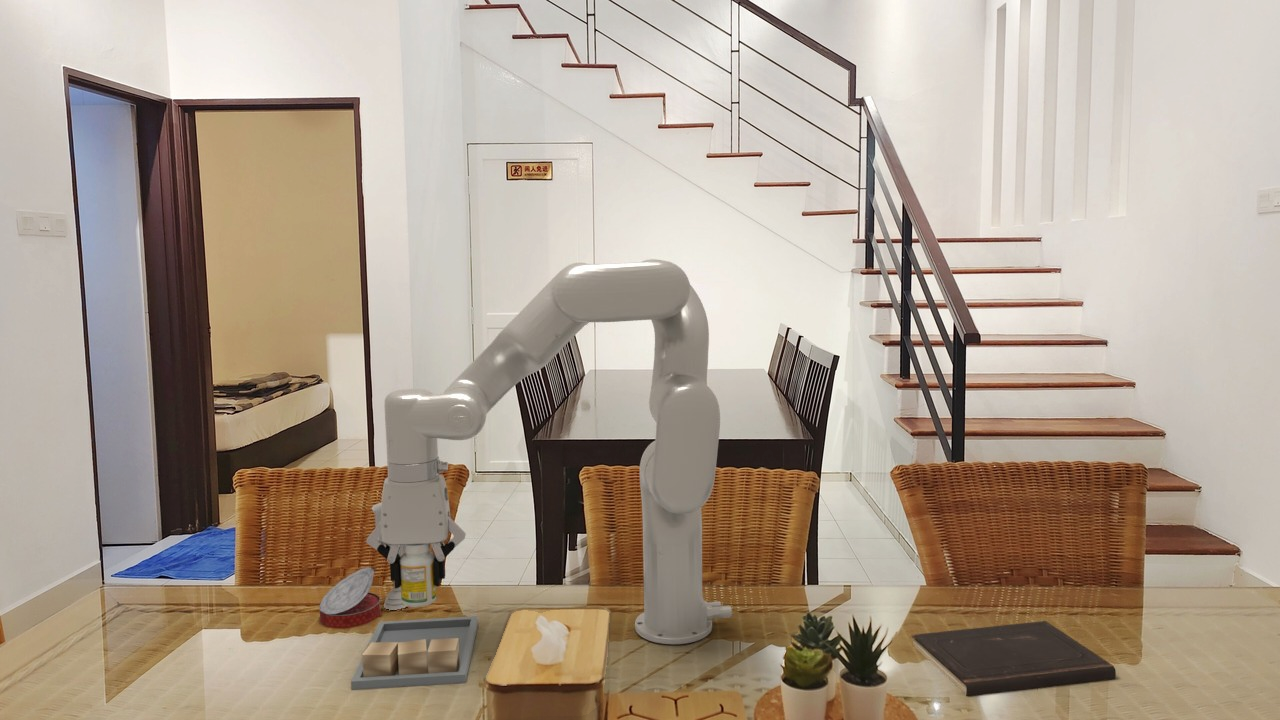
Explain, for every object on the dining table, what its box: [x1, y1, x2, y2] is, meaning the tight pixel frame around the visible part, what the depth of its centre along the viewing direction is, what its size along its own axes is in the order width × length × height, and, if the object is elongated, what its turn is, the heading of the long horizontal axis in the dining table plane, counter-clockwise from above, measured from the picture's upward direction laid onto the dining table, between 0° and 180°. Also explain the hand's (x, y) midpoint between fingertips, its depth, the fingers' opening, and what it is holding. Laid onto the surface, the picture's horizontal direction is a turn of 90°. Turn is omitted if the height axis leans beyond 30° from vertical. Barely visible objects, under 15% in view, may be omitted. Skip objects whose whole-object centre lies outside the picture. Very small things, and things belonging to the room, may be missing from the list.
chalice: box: [371, 501, 406, 611], centre depth 154 cm, size 7×7×18 cm
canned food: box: [318, 566, 382, 629], centre depth 150 cm, size 11×10×10 cm
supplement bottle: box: [400, 544, 437, 608], centre depth 137 cm, size 5×5×10 cm
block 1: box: [361, 642, 399, 677], centre depth 129 cm, size 4×4×4 cm
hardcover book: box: [911, 620, 1117, 697], centre depth 131 cm, size 16×23×2 cm
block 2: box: [398, 639, 428, 675], centre depth 129 cm, size 4×4×4 cm
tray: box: [350, 615, 479, 691], centre depth 135 cm, size 16×20×2 cm
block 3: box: [427, 638, 460, 673], centre depth 130 cm, size 4×4×4 cm
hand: (418, 582), depth 137 cm, fingers closed on supplement bottle, 5 cm apart
